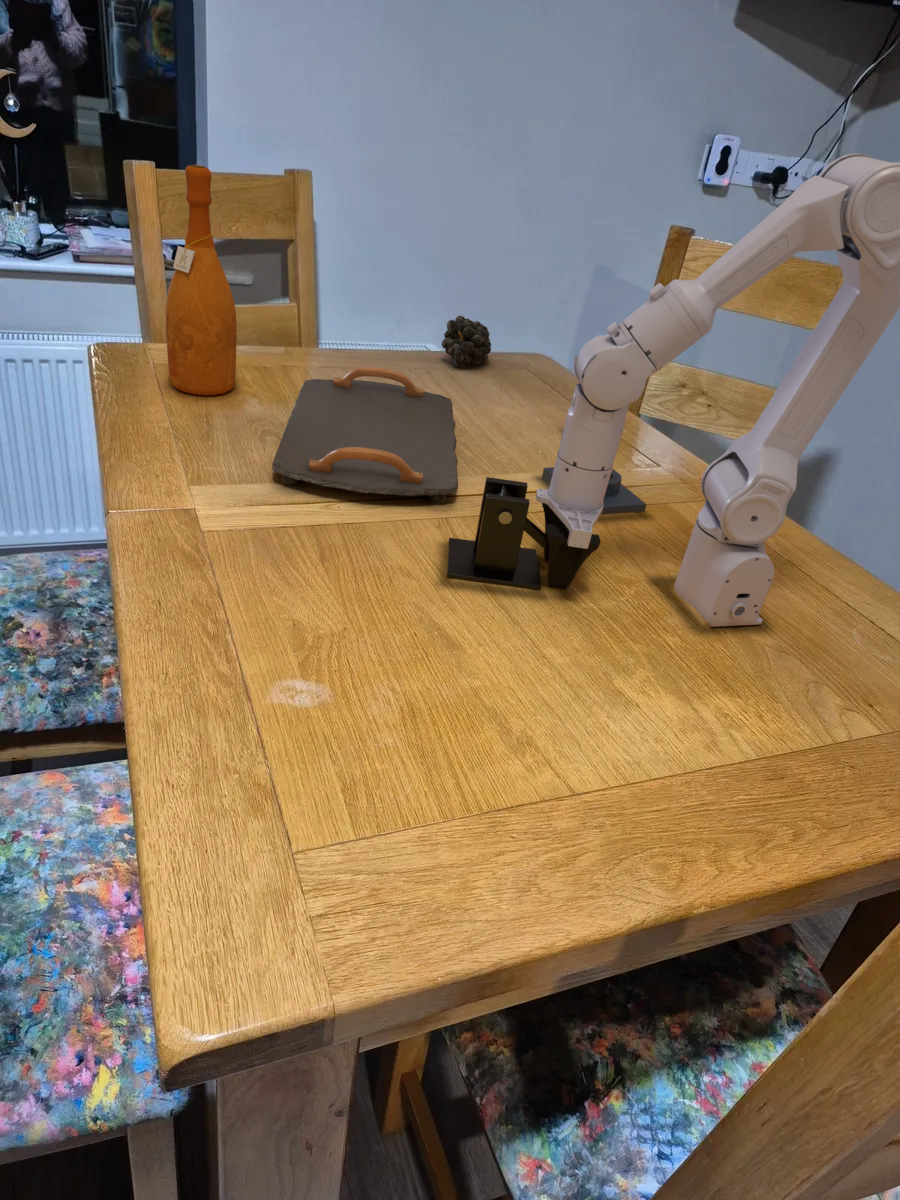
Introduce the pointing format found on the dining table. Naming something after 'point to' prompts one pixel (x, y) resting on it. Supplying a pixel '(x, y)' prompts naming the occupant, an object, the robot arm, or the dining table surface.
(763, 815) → the dining table surface
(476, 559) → the mini lever press
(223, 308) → the wine bottle
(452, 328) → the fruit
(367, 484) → the serving tray
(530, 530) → the switch lever
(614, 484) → the base unit
